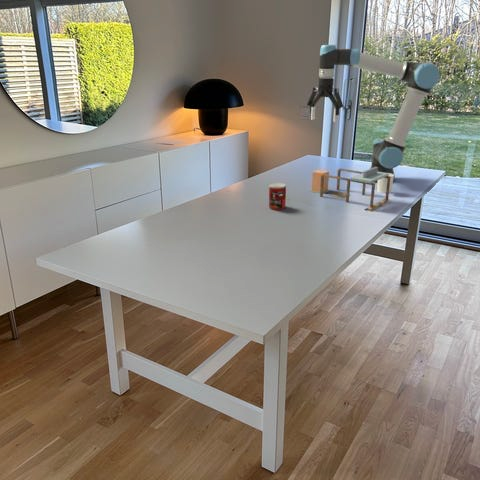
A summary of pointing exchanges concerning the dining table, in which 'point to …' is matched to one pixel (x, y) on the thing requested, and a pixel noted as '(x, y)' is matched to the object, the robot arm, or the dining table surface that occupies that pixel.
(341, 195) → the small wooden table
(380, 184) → the white cup
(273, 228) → the dining table surface
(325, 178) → the block
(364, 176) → the lid
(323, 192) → the felt pad
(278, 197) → the canned food
